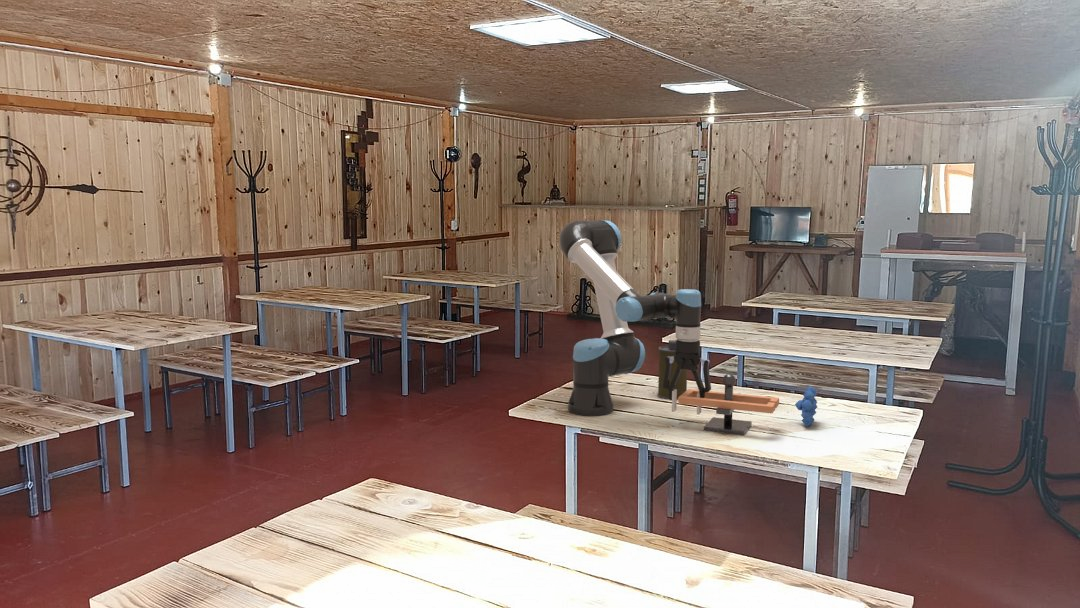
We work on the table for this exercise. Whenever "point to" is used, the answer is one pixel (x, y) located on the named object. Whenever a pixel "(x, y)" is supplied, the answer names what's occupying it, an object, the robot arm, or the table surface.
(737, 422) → the stand
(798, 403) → the grapes
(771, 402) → the link
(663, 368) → the canister
